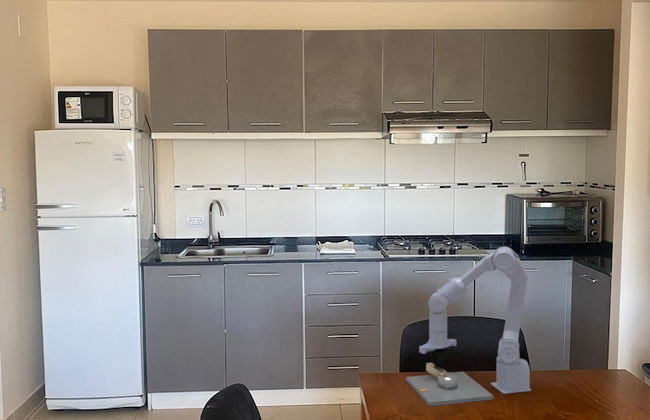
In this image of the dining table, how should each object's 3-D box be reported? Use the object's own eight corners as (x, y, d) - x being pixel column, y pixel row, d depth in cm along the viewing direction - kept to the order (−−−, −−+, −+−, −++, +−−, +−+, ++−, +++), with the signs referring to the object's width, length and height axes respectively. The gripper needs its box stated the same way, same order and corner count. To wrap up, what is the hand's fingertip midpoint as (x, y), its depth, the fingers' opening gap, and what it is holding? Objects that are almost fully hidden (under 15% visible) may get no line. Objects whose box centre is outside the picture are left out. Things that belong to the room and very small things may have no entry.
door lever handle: (461, 387, 169) (461, 376, 168) (444, 390, 166) (444, 379, 166) (436, 372, 182) (436, 361, 181) (420, 375, 180) (420, 364, 179)
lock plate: (463, 375, 182) (463, 370, 182) (493, 399, 163) (493, 394, 163) (406, 380, 178) (406, 376, 178) (429, 406, 159) (429, 401, 159)
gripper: (445, 323, 185) (445, 362, 186) (412, 330, 177) (412, 371, 178) (461, 328, 179) (461, 369, 180) (427, 336, 171) (427, 378, 172)
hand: (438, 370), depth 178 cm, fingers closed
